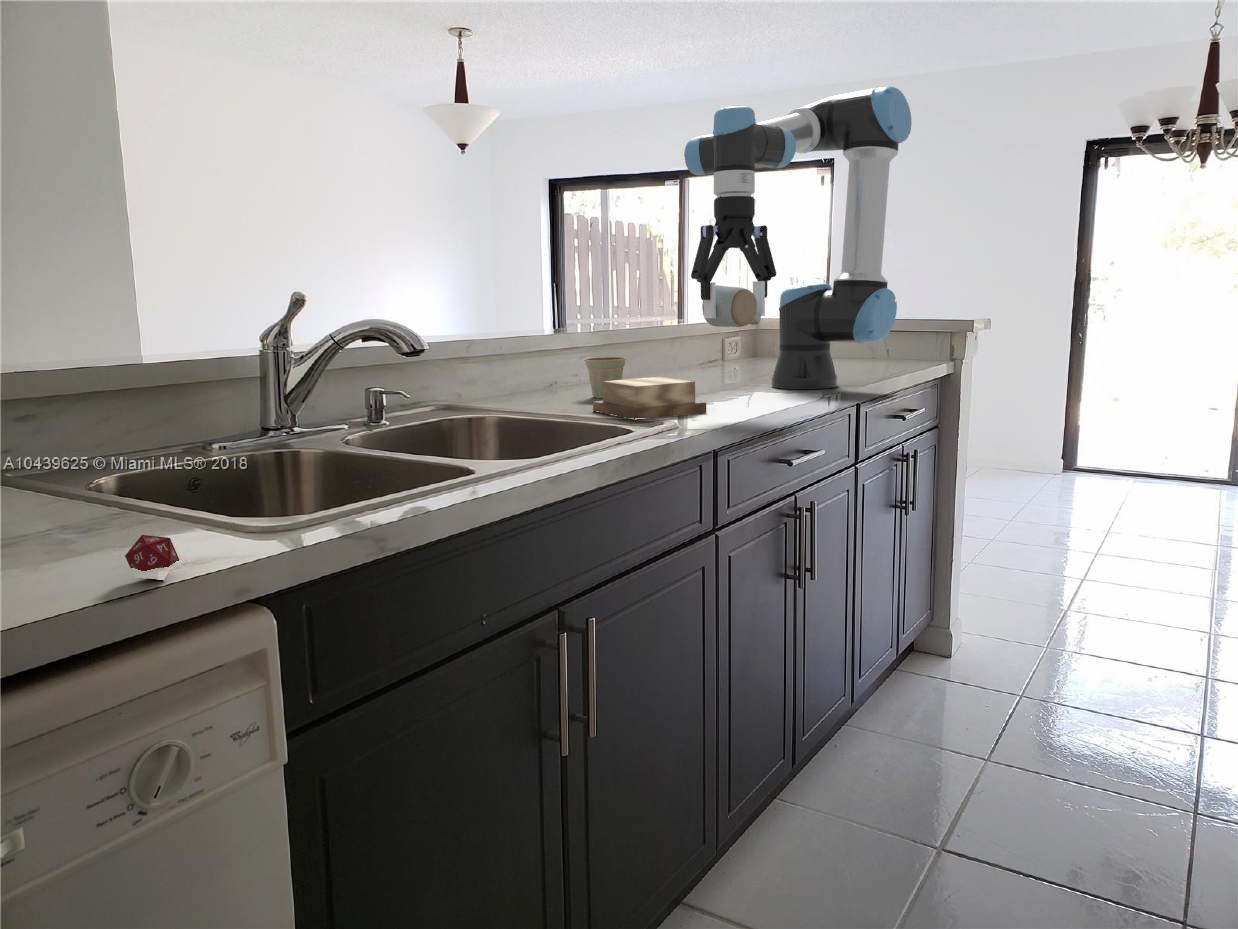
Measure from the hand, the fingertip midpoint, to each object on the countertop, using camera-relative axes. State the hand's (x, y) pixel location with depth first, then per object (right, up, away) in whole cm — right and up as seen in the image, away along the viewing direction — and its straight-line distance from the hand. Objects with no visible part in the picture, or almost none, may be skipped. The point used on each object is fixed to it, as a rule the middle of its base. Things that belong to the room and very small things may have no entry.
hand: (734, 316), depth 177 cm
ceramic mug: (0, -2, 0) cm, 2 cm away
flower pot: (-25, -13, +32) cm, 42 cm away
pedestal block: (-16, -16, +5) cm, 23 cm away
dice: (-62, -38, -95) cm, 120 cm away
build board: (-16, -18, +5) cm, 25 cm away
